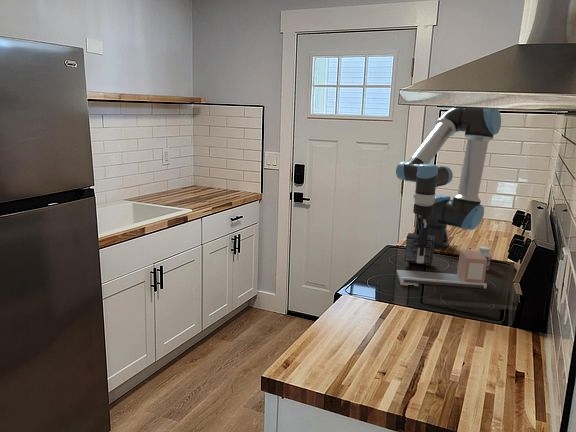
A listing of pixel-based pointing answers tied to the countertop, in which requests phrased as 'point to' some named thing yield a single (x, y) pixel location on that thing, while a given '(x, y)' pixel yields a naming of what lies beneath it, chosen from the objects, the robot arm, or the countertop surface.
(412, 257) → the small box
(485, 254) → the pill bottle
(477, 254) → the faced carton
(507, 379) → the countertop surface
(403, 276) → the shelf
